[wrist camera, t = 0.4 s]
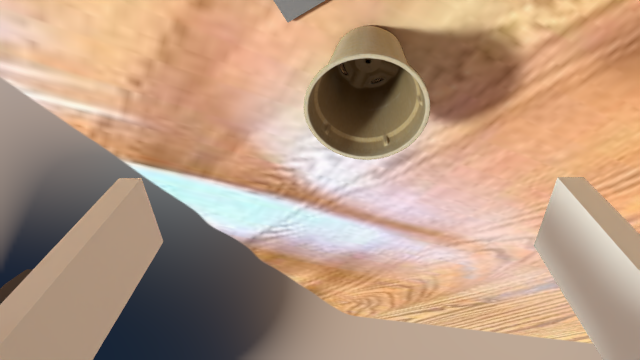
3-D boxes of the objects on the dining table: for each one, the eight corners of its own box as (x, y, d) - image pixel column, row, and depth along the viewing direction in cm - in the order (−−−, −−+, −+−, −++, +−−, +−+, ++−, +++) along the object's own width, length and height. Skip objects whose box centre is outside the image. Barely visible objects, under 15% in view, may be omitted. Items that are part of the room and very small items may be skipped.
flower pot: (444, 56, 34) (457, 112, 28) (369, 119, 39) (366, 177, 33) (369, -20, 30) (365, 25, 24) (297, 60, 36) (279, 113, 30)
